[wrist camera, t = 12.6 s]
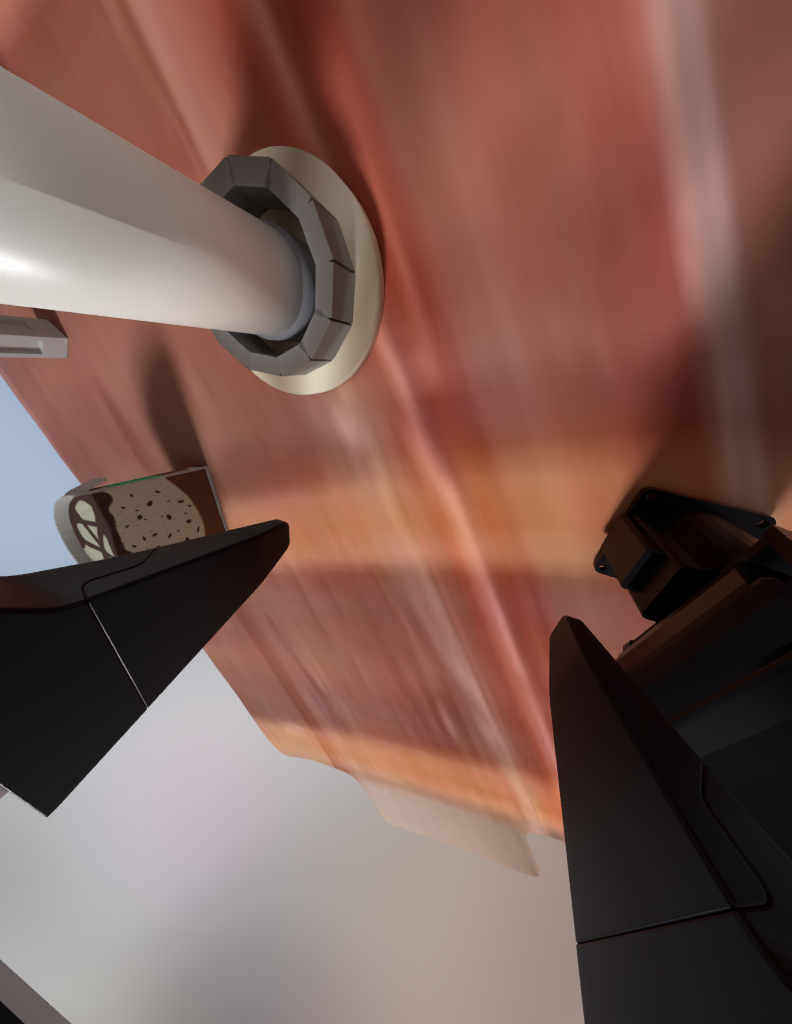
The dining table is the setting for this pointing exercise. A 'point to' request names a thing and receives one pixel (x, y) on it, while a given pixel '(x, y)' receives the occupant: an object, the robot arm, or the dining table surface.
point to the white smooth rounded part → (134, 232)
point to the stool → (31, 338)
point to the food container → (138, 514)
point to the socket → (339, 267)
